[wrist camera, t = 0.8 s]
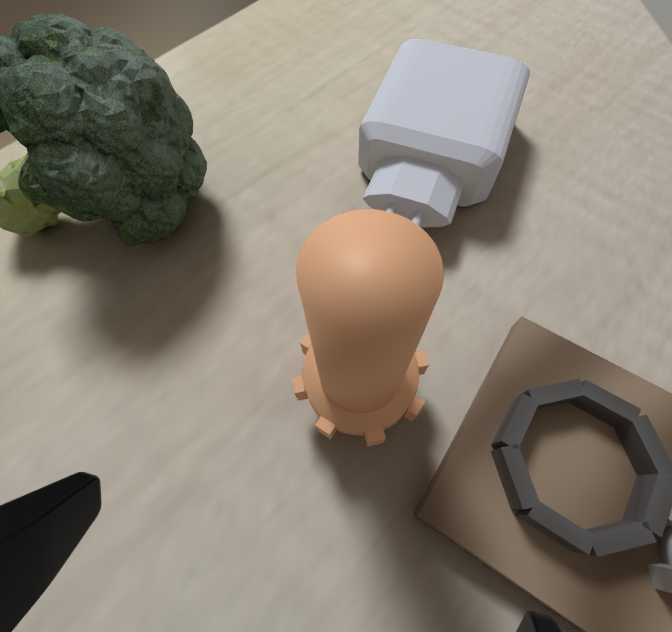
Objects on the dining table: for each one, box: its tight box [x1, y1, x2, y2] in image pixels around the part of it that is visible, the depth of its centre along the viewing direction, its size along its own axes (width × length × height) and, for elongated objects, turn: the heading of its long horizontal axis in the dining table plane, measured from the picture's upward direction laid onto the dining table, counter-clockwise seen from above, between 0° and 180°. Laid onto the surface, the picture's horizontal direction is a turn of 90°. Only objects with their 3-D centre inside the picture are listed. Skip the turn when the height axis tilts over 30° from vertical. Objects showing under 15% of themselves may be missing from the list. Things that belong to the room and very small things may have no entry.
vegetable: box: [0, 13, 207, 246], centre depth 25 cm, size 12×13×15 cm
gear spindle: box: [292, 209, 444, 447], centre depth 17 cm, size 7×7×13 cm
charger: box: [359, 39, 530, 227], centre depth 27 cm, size 5×9×15 cm
